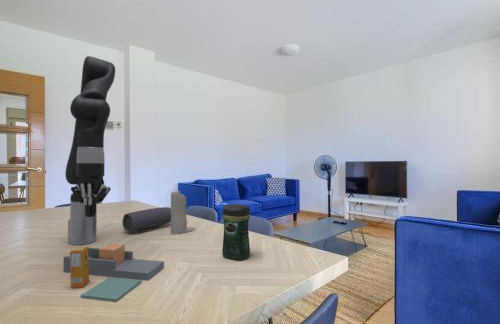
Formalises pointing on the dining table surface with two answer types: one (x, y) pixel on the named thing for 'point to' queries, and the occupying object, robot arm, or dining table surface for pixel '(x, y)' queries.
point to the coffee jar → (236, 231)
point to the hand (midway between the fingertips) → (90, 216)
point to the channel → (119, 266)
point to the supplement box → (79, 267)
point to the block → (113, 253)
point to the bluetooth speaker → (146, 219)
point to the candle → (179, 214)
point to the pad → (111, 289)
